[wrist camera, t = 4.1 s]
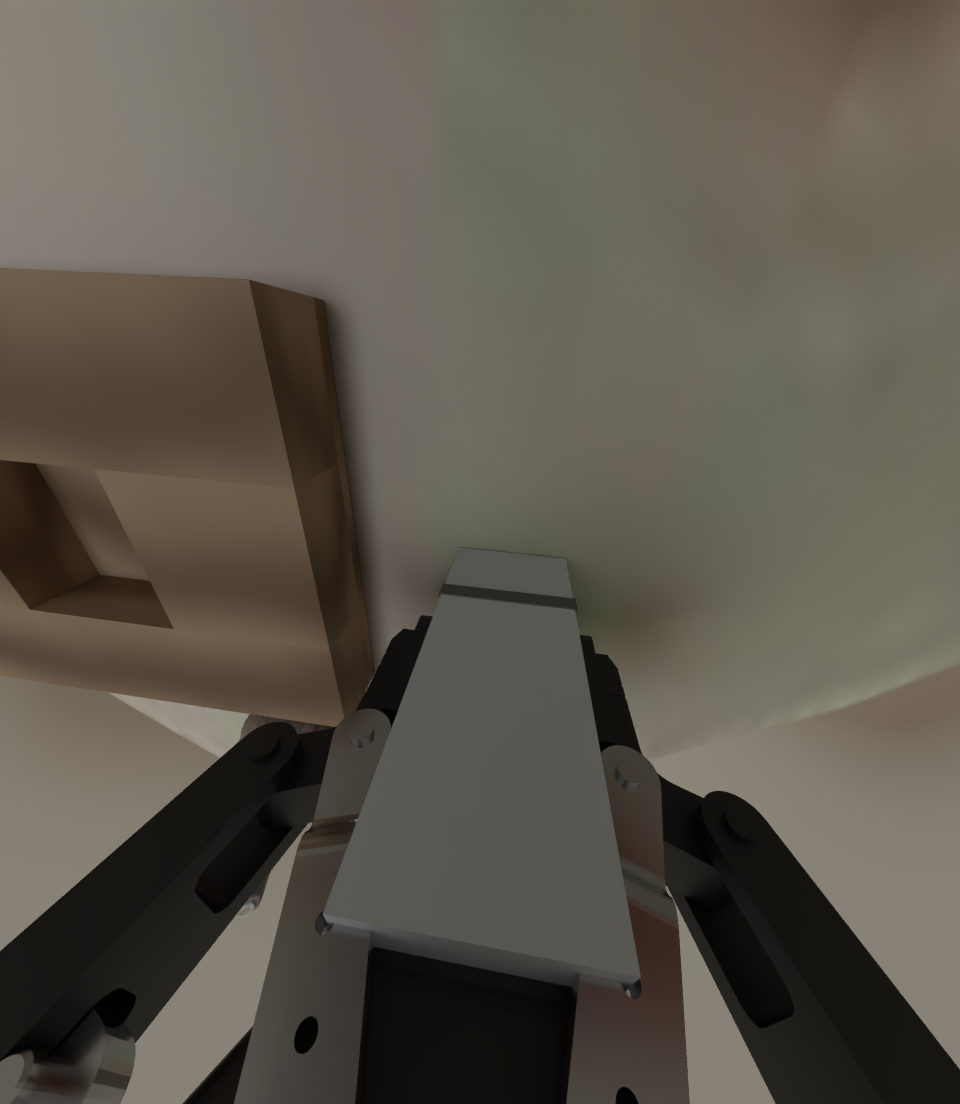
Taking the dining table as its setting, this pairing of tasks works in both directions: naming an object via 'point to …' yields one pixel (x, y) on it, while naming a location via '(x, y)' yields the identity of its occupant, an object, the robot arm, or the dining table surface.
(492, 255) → the dining table surface
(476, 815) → the peg
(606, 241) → the dining table surface
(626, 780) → the robot arm
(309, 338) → the board
